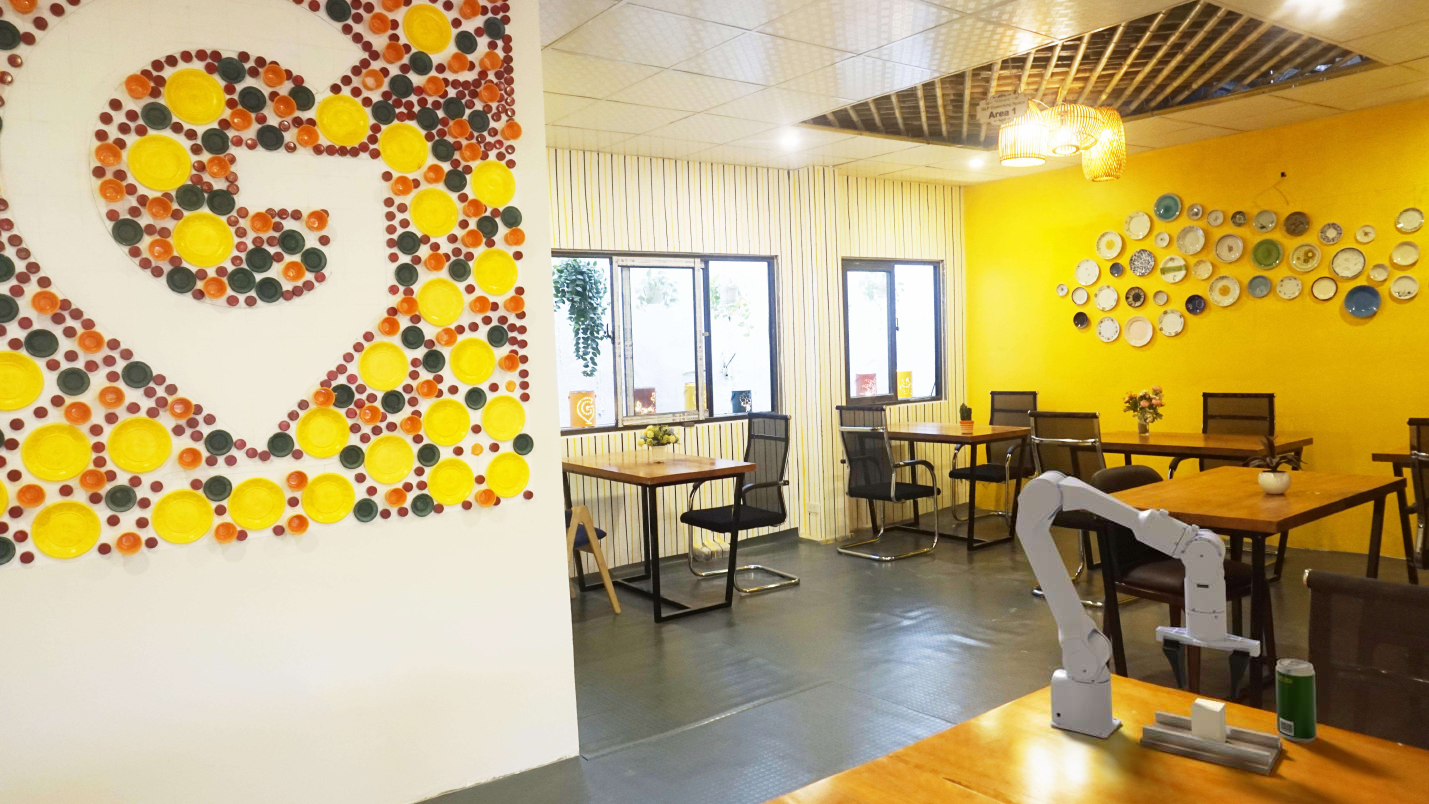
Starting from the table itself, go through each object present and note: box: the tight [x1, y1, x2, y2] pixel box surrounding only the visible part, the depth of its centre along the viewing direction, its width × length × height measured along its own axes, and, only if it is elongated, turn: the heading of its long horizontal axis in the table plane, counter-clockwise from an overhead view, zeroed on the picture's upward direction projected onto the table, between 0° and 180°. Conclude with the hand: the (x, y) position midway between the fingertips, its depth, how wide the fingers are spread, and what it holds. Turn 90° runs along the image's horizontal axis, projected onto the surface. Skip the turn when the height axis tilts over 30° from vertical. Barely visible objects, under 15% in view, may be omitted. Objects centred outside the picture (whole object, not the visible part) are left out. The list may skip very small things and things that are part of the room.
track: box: [1139, 710, 1283, 776], centre depth 143 cm, size 18×11×2 cm, turn 48°
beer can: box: [1275, 658, 1318, 744], centre depth 145 cm, size 5×5×12 cm
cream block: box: [1190, 697, 1227, 743], centre depth 143 cm, size 4×4×6 cm
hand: (1208, 691), depth 143 cm, fingers open, 7 cm apart
